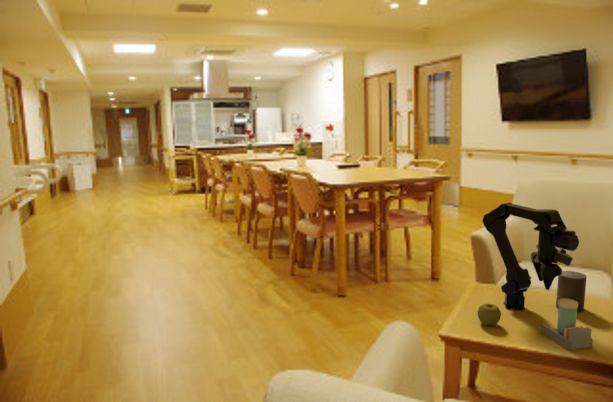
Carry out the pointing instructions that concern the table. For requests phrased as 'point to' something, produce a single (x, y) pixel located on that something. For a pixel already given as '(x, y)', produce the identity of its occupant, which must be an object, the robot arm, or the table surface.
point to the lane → (570, 337)
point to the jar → (566, 314)
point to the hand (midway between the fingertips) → (544, 285)
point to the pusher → (566, 331)
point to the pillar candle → (572, 288)
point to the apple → (489, 314)
